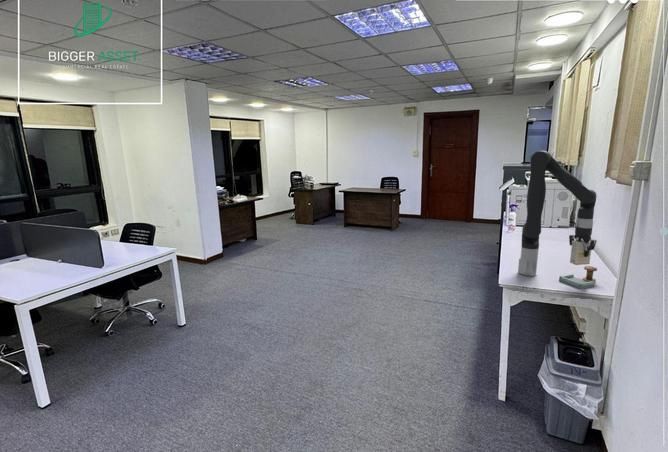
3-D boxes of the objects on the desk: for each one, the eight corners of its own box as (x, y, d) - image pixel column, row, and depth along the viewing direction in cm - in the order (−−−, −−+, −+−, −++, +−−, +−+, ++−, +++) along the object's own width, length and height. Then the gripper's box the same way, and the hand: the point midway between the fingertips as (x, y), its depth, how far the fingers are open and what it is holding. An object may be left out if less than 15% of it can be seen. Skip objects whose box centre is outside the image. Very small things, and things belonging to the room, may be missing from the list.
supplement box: (583, 261, 191) (586, 239, 188) (589, 264, 186) (592, 242, 183) (569, 262, 190) (571, 240, 188) (575, 265, 186) (578, 242, 183)
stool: (590, 283, 190) (592, 270, 188) (579, 279, 195) (581, 266, 194) (597, 281, 192) (599, 268, 190) (587, 278, 197) (589, 265, 195)
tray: (581, 288, 183) (581, 284, 182) (559, 280, 195) (559, 276, 195) (594, 286, 186) (594, 281, 185) (571, 278, 198) (572, 273, 197)
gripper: (566, 224, 189) (563, 252, 193) (592, 229, 176) (588, 259, 179) (576, 222, 191) (572, 250, 195) (602, 227, 178) (598, 257, 182)
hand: (580, 255), depth 187 cm, fingers closed on supplement box, 5 cm apart
